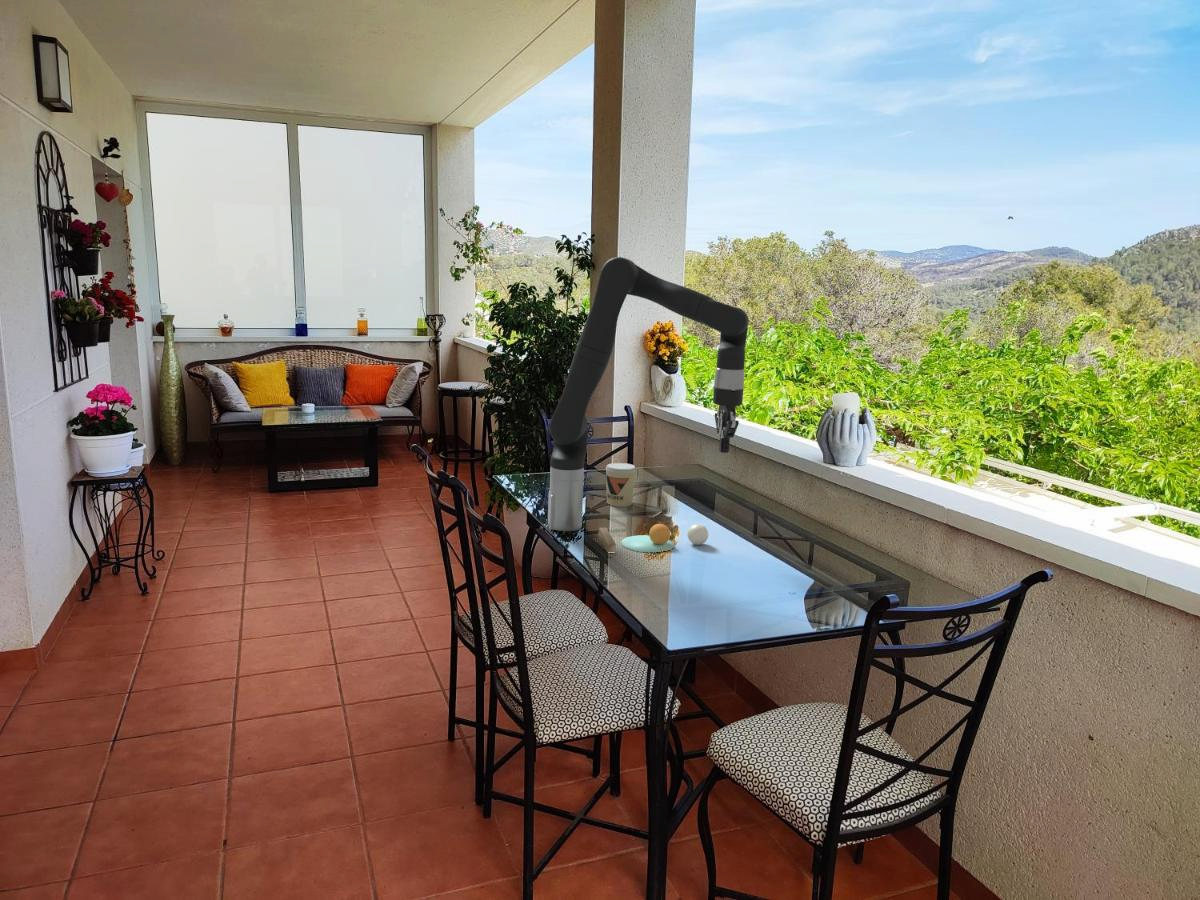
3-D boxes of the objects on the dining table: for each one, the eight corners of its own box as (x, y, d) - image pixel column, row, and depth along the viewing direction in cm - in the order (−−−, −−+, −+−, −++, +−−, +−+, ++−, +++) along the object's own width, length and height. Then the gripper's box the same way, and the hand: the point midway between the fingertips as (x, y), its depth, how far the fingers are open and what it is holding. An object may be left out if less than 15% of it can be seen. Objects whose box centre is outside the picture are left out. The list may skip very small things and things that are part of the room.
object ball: (673, 544, 206) (653, 549, 206) (668, 538, 212) (648, 542, 211) (670, 525, 205) (650, 530, 204) (665, 519, 210) (645, 523, 210)
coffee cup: (599, 504, 245) (600, 466, 242) (612, 497, 253) (614, 461, 250) (626, 509, 240) (628, 470, 238) (639, 502, 249) (641, 465, 246)
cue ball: (714, 531, 207) (707, 550, 208) (706, 523, 212) (699, 541, 213) (696, 527, 205) (688, 546, 206) (688, 518, 210) (681, 537, 211)
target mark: (627, 553, 200) (627, 552, 200) (616, 536, 214) (616, 535, 213) (680, 552, 202) (680, 551, 202) (667, 535, 216) (667, 535, 216)
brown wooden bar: (607, 553, 199) (608, 544, 199) (598, 536, 213) (599, 527, 212) (615, 553, 200) (615, 544, 199) (605, 536, 213) (606, 527, 213)
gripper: (707, 382, 208) (702, 446, 212) (722, 389, 196) (717, 457, 199) (734, 383, 210) (729, 447, 213) (751, 389, 197) (746, 457, 200)
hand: (723, 452), depth 206 cm, fingers closed
